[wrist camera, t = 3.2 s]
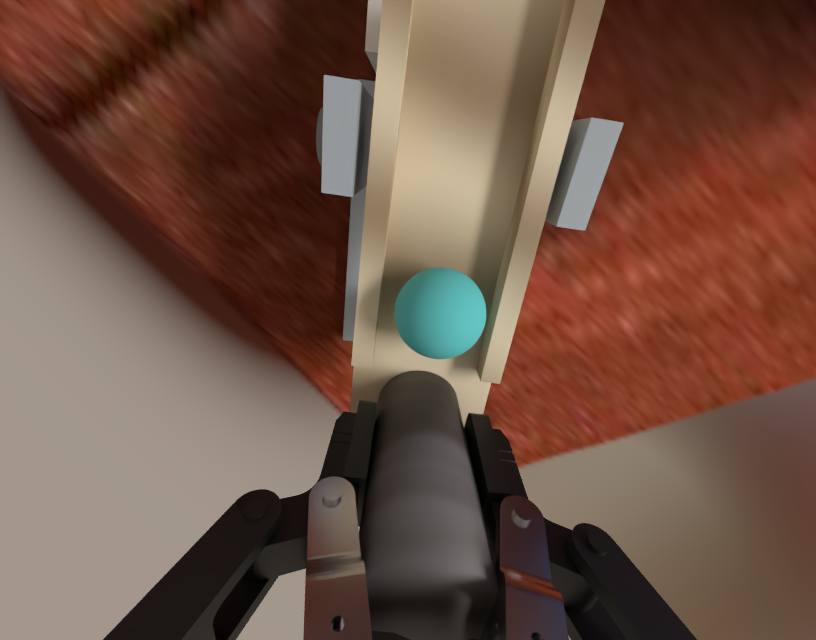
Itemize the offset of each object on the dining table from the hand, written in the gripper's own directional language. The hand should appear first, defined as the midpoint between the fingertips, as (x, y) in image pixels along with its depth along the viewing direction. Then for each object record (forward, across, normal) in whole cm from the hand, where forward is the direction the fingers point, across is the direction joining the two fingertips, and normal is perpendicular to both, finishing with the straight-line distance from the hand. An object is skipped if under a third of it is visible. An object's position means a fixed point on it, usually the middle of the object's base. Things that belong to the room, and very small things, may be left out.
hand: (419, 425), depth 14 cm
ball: (0, 0, -5) cm, 5 cm away
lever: (+3, 0, -6) cm, 7 cm away
